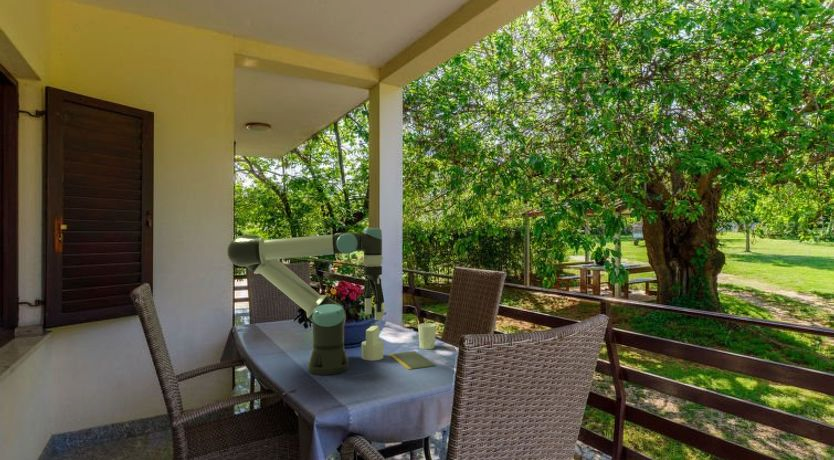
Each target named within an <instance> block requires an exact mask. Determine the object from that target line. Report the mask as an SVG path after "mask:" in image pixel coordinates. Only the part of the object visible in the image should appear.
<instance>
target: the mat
mask: <svg viewBox="0 0 834 460" xmlns="http://www.w3.org/2000/svg"><path fill="white" fill-rule="evenodd" d="M389 356H390V357H391V358H393V359H394V360H395V361H397V362H398V364H400V365H401V366H403V367H404V368H405V369H407V371H408V370H410V371H411V370H416V369H417V370H418V369H423V368H424V369H425V368H431V367H432V368H433V367H436V366H437V365H436V364H435V363H434V362H432V361H431V360H429V359H428V358H426V357H425V356H424V355H421V354H420V353H419V352H417V351H415V350H413V351H405V352H398V353H397V352H395V353H389Z"/></svg>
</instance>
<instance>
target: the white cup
mask: <svg viewBox="0 0 834 460" xmlns="http://www.w3.org/2000/svg"><path fill="white" fill-rule="evenodd" d="M417 326H418V331H417V332H418V342H419V343H418V344H419V349H421V350H432V349H434V348H435V342H436V332H437V329H436V328H437V327H436V324H435V323H430V322H429V323H428V322H427V323H426V322H425V323H423V322H422V323H419V324H418V325H417Z"/></svg>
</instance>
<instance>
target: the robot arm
mask: <svg viewBox="0 0 834 460" xmlns="http://www.w3.org/2000/svg"><path fill="white" fill-rule="evenodd" d="M382 234H383V233H382V229H381V228H380V227H368V228H367V227H365V228H363V232H336V233H335V234H324V235H323V234H322V235H309V236H298V237H287V238H285V237H284V238H273V239H265V238H263V237H260V236H257V235H254V234H249V235H243V236H238V237H236V238H234V239H232V240H231V242H230V243H229V244H228V246H227V256H228V259H229V260H230V261H231V263H233V264H234V265H235V266H237V267H245V268H247V269H248V270H249V271H250V272H251V273H252V274H254V275H255V274H256V275H258V274H260V275H261V276H263V277H264V279H266V280H267V281H268V282H270V283H271V284H272V285H274V287H276V288H277V289H278V290H280V291H281V293H283V294H284V295H285V296H287V297H288V298H289V299H290V300H291V301H292V302H294V303H295V305H296V304H297V305H298V306H299V307H300V308H301V309H302V310H304V311H305V313H306V317H307V319H308V320H310V321H311V323H312V349H311V353H310V357H309V360H308V363H307V370H308V372H309V373H311V374H314V375H320V376H321V375H322V376H323V375H324V376H325V375H326V376H328V375H336V374H340V373H341V374H342V373H344V372H345V371H347V370H348V369H349V368H350V367H349V359H348V355H347V353H346V350H345V324H346V321H347V314H346V310H345V308H344V306H343V305H341V303H339V302H337V301H334V300H333V299H332V298H330V296H328V295H327V294H325V295H322V294H320V293H318V292H317V291H316V290H315V289H314V288H312V287H311V286H310V285H309V284H308V283H307V282H305V280H303V279H301V278H300V277H299V276H298V275H297V274H296V273H295V272H293V270H291V269H290V268H289V267H287V265H285V264H284V263H282V261H280V260H281V259H283V260H284V259H294V258H305V257H314V256H315V257H317V256H318V257H319V256H328V255H339V254H341V255H342V254H344V255H349V254H352V253H354V252H363V265H364V266H363V275H364V277H365V278H364V285H363V286H364V287H363V294H362V296H363V298H364V315H371V314H372V310H373V309H372V305H373V304H372V303H373V302H372V298H373V297H374V321H383V303H385V300H384V293H383V288H382V287H383V286H382V285H383V284H382V278H381V277H380V278H379V276H381V275H383V266H382V265H383V259H384V257H383V235H382ZM372 293H373V295H372Z"/></svg>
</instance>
